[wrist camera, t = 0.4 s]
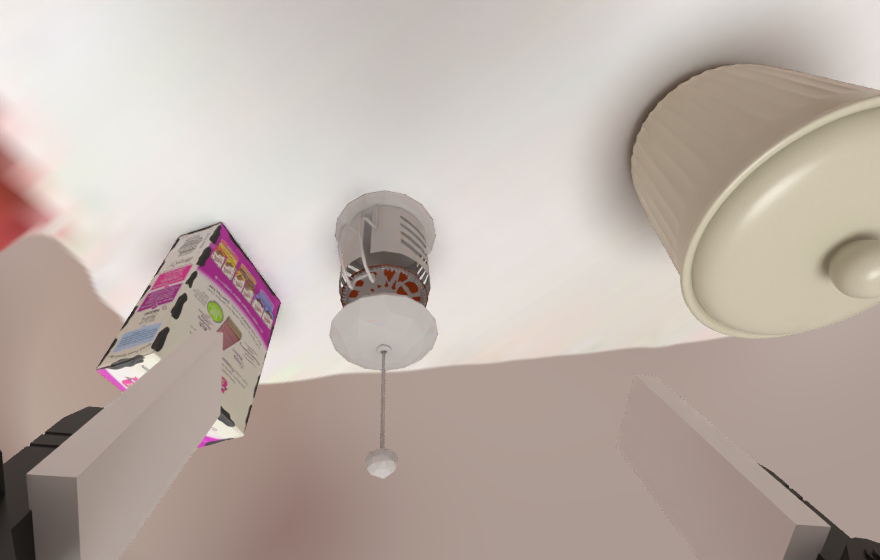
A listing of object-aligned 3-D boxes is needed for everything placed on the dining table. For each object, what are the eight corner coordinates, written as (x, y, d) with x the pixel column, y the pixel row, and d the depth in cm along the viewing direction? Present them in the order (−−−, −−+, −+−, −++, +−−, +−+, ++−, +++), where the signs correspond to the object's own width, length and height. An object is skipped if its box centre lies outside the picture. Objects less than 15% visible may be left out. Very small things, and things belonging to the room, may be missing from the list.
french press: (361, 286, 50) (343, 528, 31) (306, 196, 43) (237, 437, 24) (448, 257, 49) (486, 492, 29) (406, 158, 42) (419, 383, 22)
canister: (571, 216, 47) (668, 385, 30) (644, 10, 36) (858, 102, 19) (734, 229, 49) (904, 392, 33) (849, 41, 38) (1190, 146, 22)
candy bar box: (175, 236, 45) (88, 370, 32) (221, 220, 44) (152, 350, 31) (242, 316, 52) (192, 453, 39) (283, 303, 51) (247, 438, 38)
